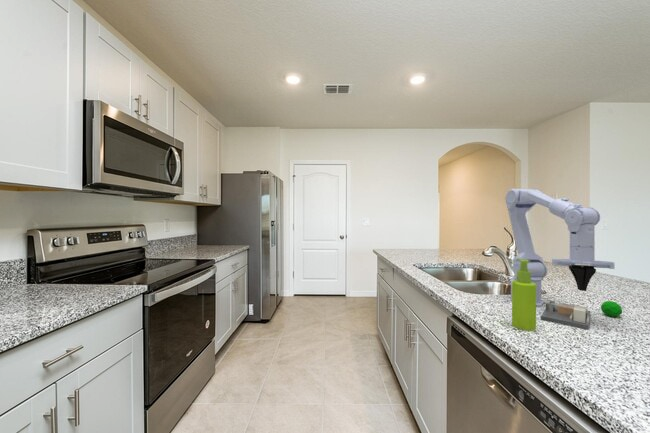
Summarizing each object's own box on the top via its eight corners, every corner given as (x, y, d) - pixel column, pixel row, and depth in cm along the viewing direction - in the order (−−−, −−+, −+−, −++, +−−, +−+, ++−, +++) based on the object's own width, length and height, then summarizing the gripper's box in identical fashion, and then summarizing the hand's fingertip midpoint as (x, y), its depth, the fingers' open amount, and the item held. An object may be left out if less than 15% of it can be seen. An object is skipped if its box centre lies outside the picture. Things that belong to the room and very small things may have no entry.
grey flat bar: (550, 306, 94) (550, 304, 94) (551, 304, 96) (551, 302, 96) (587, 313, 88) (587, 311, 88) (587, 311, 90) (587, 308, 90)
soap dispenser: (530, 323, 86) (530, 258, 86) (539, 331, 80) (539, 261, 80) (508, 320, 88) (508, 257, 88) (515, 329, 82) (515, 260, 82)
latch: (573, 320, 85) (573, 309, 85) (574, 316, 89) (574, 305, 89) (585, 323, 83) (585, 311, 83) (586, 318, 87) (586, 307, 87)
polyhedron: (597, 314, 94) (597, 300, 94) (605, 312, 96) (605, 298, 96) (617, 319, 89) (617, 304, 89) (625, 317, 91) (625, 303, 91)
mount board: (540, 319, 89) (540, 307, 89) (548, 306, 102) (548, 296, 102) (588, 329, 81) (588, 316, 81) (590, 314, 94) (590, 303, 94)
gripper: (557, 246, 86) (557, 290, 86) (620, 248, 81) (620, 296, 80) (549, 244, 93) (549, 285, 93) (607, 246, 87) (607, 290, 87)
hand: (581, 290), depth 87 cm, fingers closed
